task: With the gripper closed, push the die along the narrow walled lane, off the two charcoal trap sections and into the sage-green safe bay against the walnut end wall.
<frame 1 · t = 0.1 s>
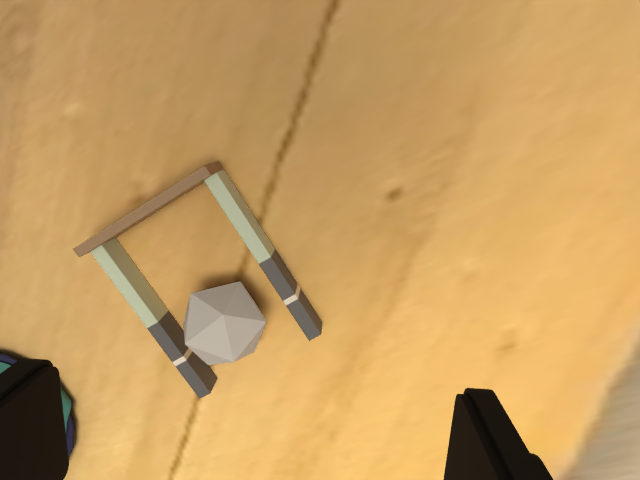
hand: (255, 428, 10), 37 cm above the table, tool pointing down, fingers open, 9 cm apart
die: (232, 307, 50), on the table
trap lane: (212, 280, 49), on the table
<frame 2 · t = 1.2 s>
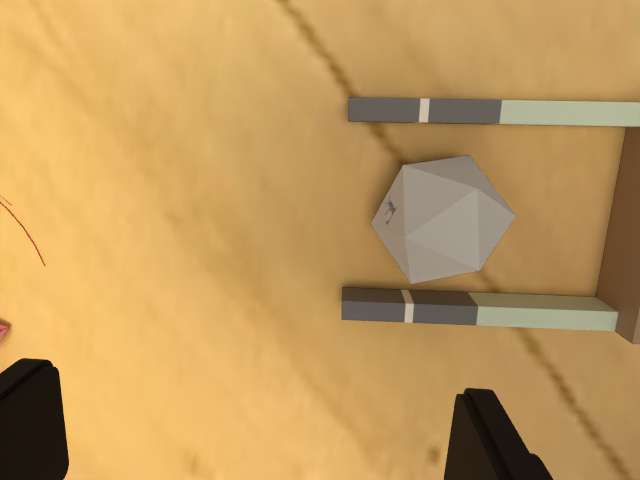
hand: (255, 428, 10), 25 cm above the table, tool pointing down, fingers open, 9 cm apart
die: (429, 210, 34), on the table
trap lane: (482, 212, 34), on the table
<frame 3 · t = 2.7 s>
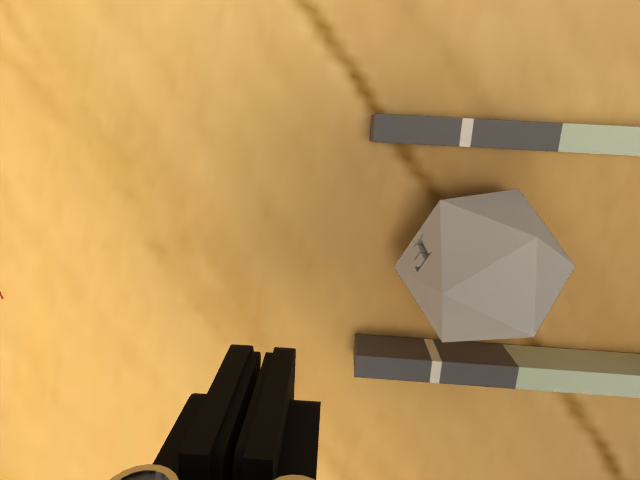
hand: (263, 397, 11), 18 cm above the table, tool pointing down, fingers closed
die: (461, 247, 29), on the table
trap lane: (525, 252, 28), on the table
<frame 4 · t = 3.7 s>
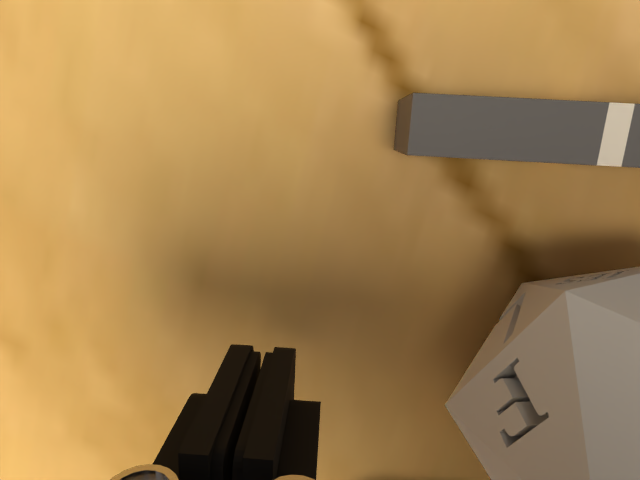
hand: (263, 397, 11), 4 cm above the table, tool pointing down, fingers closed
die: (560, 345, 16), on the table
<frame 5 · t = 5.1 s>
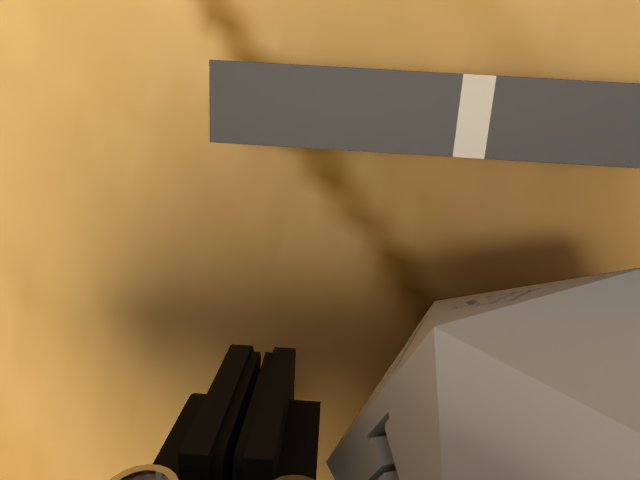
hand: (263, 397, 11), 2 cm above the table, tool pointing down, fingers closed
die: (487, 373, 13), on the table
trap lane: (598, 389, 13), on the table
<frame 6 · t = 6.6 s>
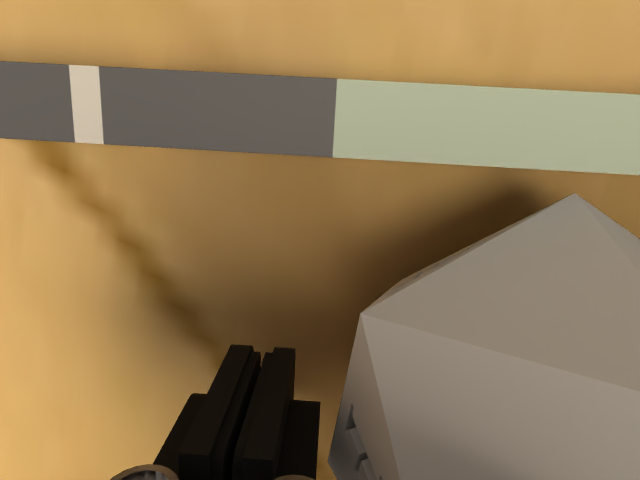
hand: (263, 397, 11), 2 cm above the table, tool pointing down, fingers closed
die: (476, 334, 13), on the table, touching gripper
trap lane: (337, 369, 13), on the table
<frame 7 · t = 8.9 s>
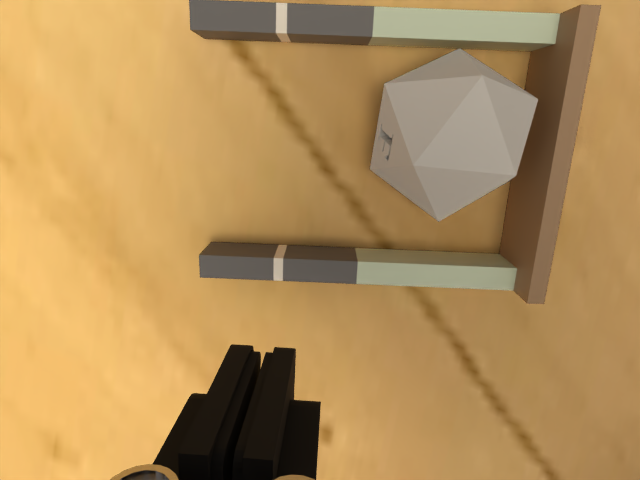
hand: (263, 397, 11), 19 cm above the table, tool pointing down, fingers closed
die: (432, 133, 29), on the table
trap lane: (368, 153, 29), on the table
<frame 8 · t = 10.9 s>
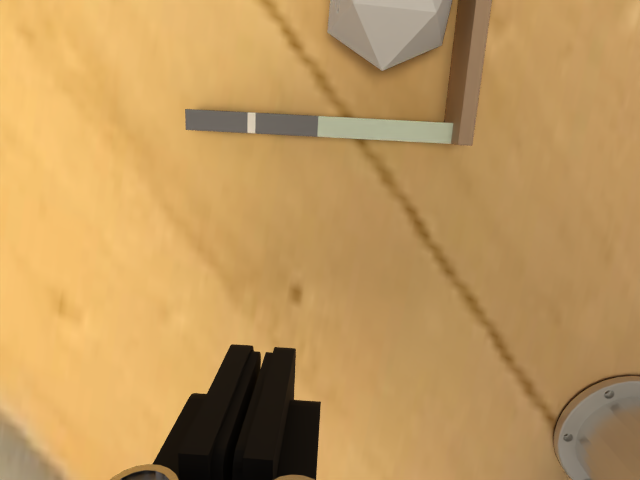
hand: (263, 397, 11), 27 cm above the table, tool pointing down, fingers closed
die: (384, 13, 34), on the table
trap lane: (330, 29, 34), on the table
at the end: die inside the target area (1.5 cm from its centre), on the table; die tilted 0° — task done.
